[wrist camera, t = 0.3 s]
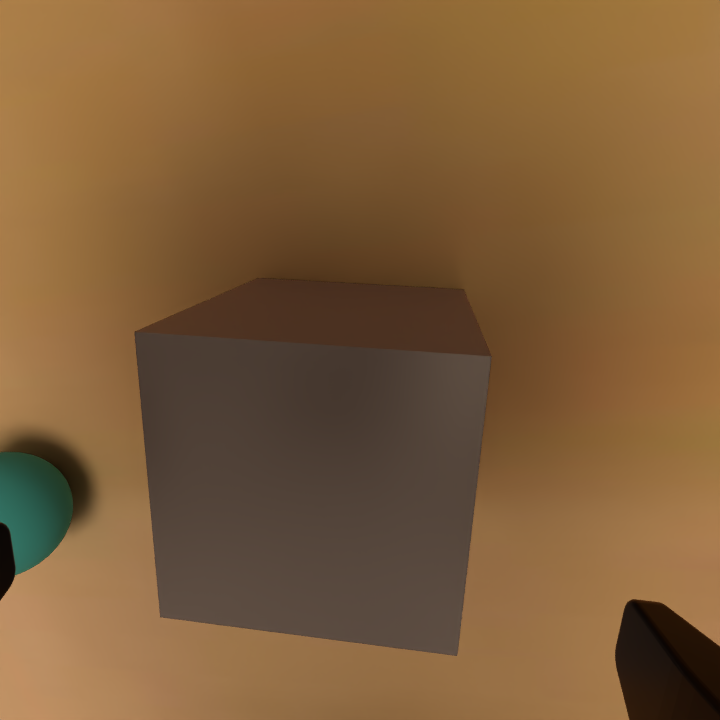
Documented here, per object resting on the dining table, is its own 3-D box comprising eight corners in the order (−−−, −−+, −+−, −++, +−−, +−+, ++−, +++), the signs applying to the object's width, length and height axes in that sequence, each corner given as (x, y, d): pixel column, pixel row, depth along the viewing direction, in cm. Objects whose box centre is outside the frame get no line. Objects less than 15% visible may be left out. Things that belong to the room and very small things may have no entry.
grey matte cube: (445, 478, 21) (456, 655, 13) (261, 460, 22) (160, 617, 14) (463, 289, 19) (491, 356, 11) (258, 278, 20) (134, 331, 12)
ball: (103, 536, 24) (24, 616, 20) (4, 524, 25) (-97, 600, 20) (91, 437, 23) (2, 498, 18) (-14, 427, 23) (-127, 484, 19)
